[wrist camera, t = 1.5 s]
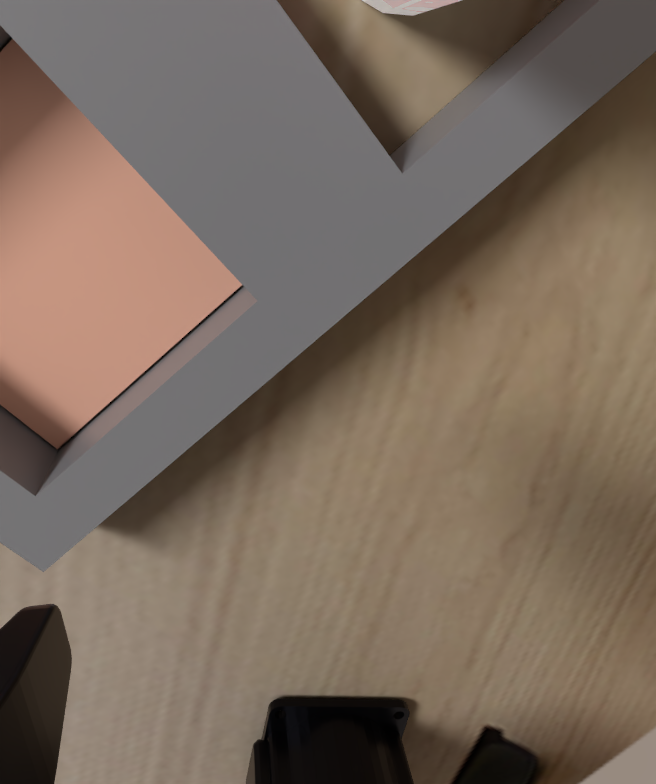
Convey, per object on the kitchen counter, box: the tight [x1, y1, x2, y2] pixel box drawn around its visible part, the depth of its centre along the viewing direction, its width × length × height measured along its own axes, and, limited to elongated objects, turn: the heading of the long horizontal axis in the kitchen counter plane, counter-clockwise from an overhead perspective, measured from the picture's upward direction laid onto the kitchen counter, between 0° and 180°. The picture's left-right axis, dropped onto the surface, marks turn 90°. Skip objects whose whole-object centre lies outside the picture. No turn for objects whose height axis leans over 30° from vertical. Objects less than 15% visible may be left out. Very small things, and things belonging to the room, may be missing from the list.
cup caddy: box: [0, 0, 656, 572], centre depth 16 cm, size 27×13×3 cm, turn 130°
